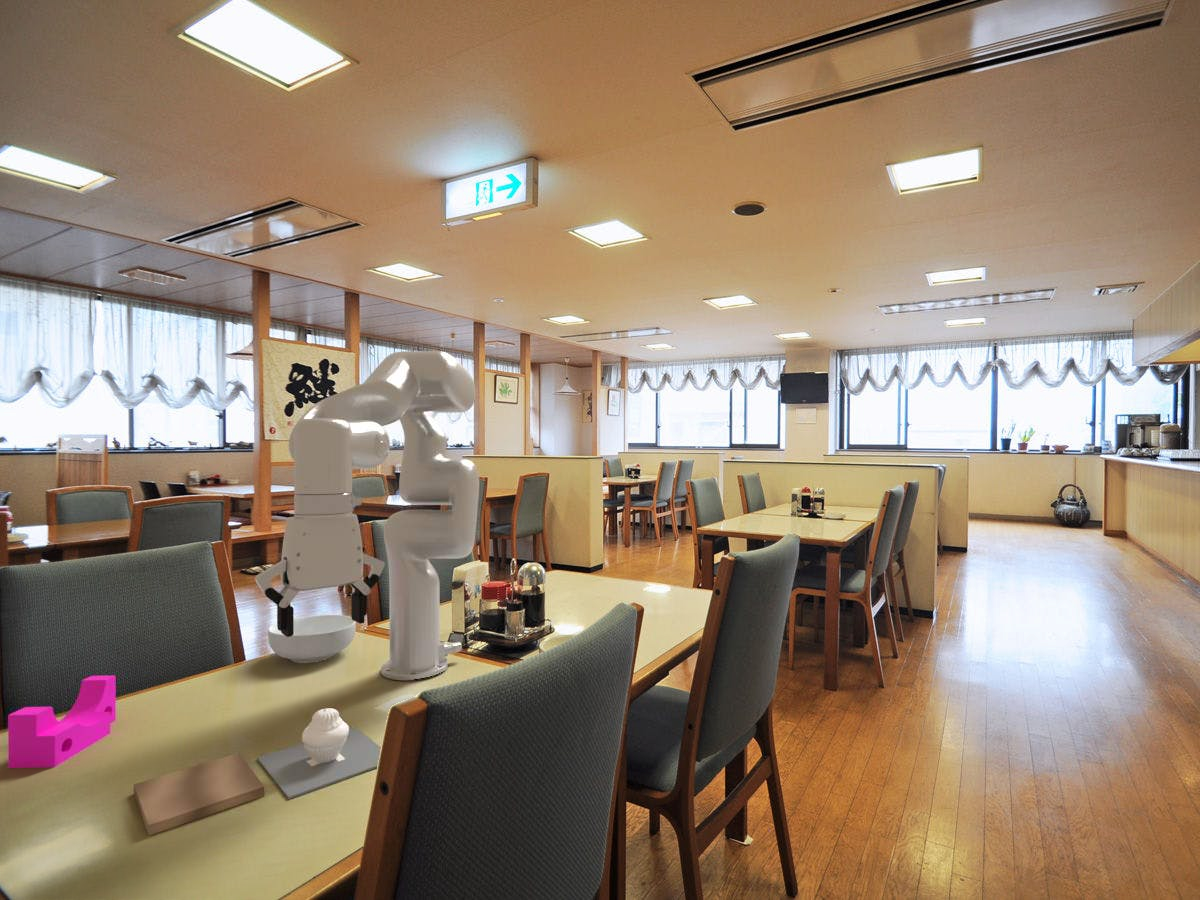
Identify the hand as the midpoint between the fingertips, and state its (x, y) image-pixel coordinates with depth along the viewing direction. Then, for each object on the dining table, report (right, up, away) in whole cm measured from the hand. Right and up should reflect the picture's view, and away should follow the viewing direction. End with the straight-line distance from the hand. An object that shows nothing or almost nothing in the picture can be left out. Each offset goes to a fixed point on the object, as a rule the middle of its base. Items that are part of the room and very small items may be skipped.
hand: (323, 627), depth 89 cm
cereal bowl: (-22, -19, +44) cm, 53 cm away
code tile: (0, -19, 0) cm, 19 cm away
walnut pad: (-12, -19, -9) cm, 24 cm away
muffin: (0, -19, 0) cm, 19 cm away
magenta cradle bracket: (-40, -19, +6) cm, 45 cm away
